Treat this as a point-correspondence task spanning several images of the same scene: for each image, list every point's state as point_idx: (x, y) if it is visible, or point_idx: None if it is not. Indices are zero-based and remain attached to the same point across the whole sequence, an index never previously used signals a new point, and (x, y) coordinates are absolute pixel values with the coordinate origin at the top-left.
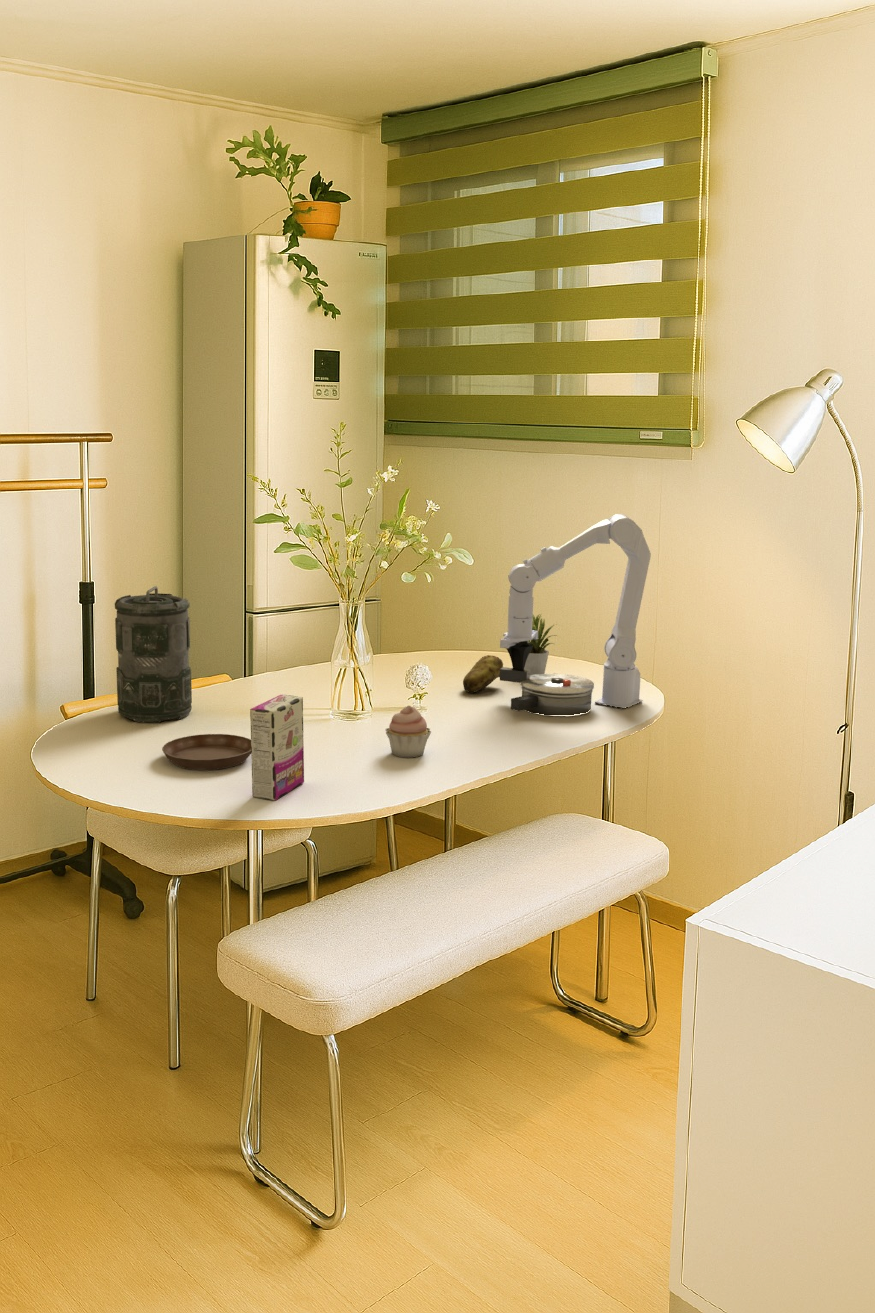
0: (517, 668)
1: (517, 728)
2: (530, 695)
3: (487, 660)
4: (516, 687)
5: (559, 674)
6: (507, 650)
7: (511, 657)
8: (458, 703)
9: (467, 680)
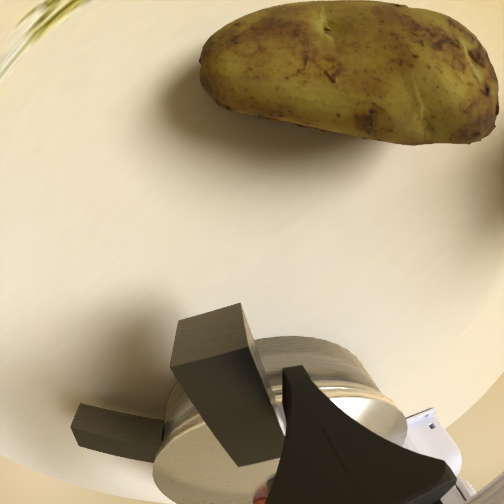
0: (287, 410)
1: (51, 424)
2: (152, 451)
3: (426, 69)
4: (435, 182)
5: (401, 427)
6: (268, 496)
7: (282, 451)
8: (62, 158)
9: (202, 57)
